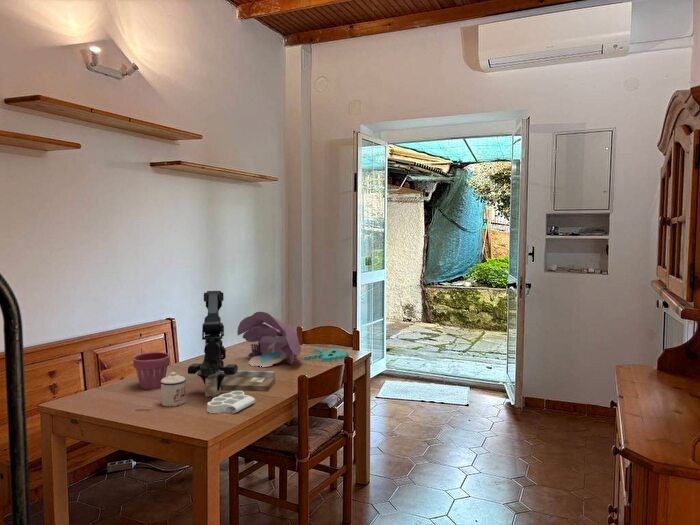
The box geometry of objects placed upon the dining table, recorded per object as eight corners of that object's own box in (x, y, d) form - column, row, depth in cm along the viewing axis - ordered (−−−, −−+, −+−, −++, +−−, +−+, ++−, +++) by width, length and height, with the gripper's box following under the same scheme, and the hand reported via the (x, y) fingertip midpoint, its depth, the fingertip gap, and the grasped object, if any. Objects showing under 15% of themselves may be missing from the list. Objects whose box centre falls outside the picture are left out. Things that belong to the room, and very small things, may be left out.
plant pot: (151, 393, 198) (150, 361, 197) (126, 388, 204) (125, 357, 203) (177, 383, 211) (177, 354, 210) (153, 379, 217) (152, 350, 216)
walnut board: (205, 389, 203) (205, 378, 203) (216, 380, 216) (216, 370, 216) (268, 391, 201) (268, 380, 201) (275, 381, 214) (275, 371, 214)
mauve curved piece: (231, 374, 243) (219, 320, 237) (253, 354, 265) (242, 304, 259) (296, 373, 232) (286, 317, 226) (313, 352, 254) (304, 300, 248)
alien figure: (304, 361, 252) (342, 363, 248) (304, 356, 252) (342, 358, 248) (314, 351, 271) (350, 353, 267) (314, 347, 271) (350, 349, 267)
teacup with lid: (176, 408, 181) (176, 376, 180) (155, 405, 184) (155, 374, 183) (195, 397, 193) (195, 368, 192) (175, 395, 195) (174, 366, 194)
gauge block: (205, 396, 194) (205, 378, 194) (210, 391, 200) (210, 374, 200) (215, 396, 194) (215, 379, 194) (220, 391, 200) (220, 374, 200)
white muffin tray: (231, 418, 173) (197, 412, 178) (260, 402, 189) (229, 397, 195) (231, 408, 172) (197, 402, 178) (260, 393, 189) (229, 388, 195)
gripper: (181, 356, 189) (182, 396, 190) (229, 357, 188) (229, 397, 189) (192, 349, 200) (193, 387, 201) (238, 350, 199) (238, 388, 200)
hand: (213, 390), depth 197 cm, fingers closed on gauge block, 4 cm apart
